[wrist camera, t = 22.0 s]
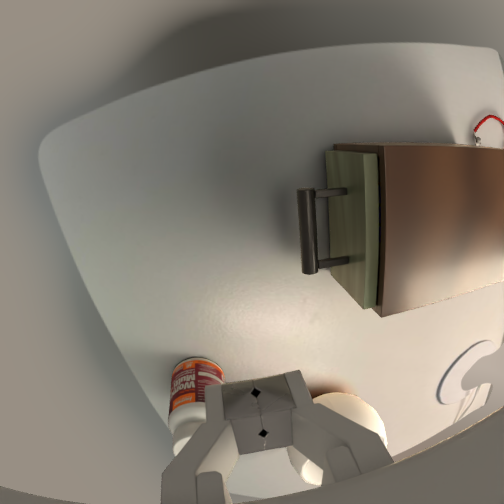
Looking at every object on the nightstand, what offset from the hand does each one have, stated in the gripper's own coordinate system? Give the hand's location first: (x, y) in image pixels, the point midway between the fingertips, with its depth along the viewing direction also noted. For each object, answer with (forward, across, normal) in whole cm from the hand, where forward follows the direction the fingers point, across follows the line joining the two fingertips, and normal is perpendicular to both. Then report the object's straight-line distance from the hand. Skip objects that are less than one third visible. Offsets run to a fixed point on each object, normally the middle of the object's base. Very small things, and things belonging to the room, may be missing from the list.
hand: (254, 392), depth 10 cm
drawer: (+21, -16, 0) cm, 27 cm away
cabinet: (+22, -20, 0) cm, 30 cm away
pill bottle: (+22, +5, +17) cm, 29 cm away
